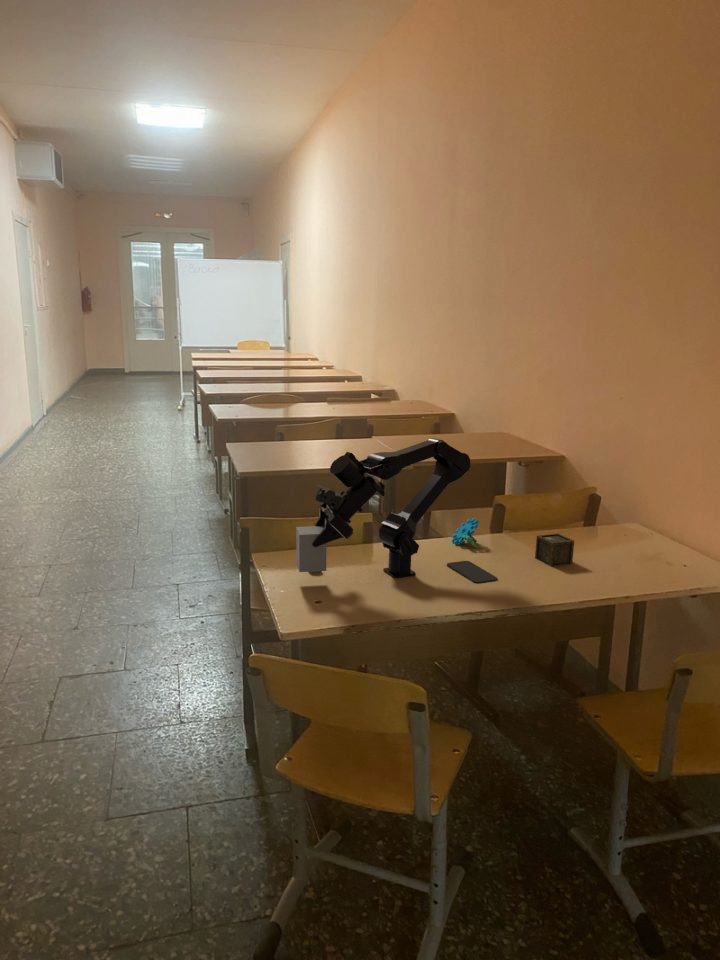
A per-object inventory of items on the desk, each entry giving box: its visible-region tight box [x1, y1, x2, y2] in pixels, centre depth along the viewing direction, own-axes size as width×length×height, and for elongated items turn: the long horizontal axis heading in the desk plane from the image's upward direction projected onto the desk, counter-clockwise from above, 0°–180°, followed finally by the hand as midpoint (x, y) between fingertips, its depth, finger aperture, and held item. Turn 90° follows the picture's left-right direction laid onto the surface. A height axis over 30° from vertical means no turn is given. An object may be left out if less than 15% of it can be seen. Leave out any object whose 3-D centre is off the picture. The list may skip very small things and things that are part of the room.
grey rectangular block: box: [295, 525, 327, 573], centre depth 175 cm, size 7×7×10 cm
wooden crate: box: [534, 533, 575, 567], centre depth 198 cm, size 7×7×7 cm
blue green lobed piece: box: [451, 517, 479, 549], centre depth 212 cm, size 11×6×10 cm
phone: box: [446, 560, 498, 584], centre depth 188 cm, size 7×1×15 cm
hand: (311, 541), depth 174 cm, fingers closed on grey rectangular block, 7 cm apart
